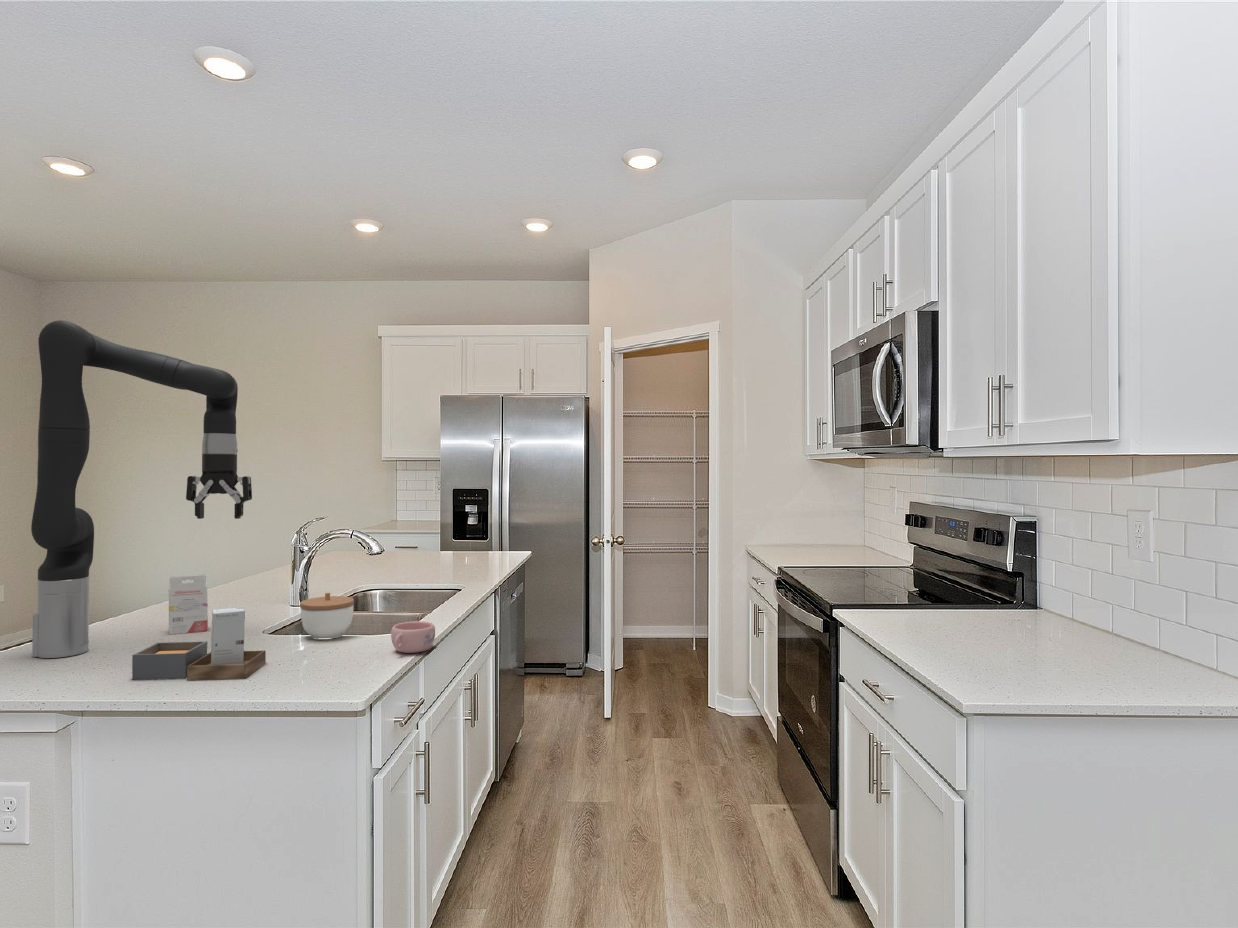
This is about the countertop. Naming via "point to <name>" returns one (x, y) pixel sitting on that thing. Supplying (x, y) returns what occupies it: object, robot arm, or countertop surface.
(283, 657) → the countertop surface
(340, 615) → the lidded bowl
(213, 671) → the wooden square tray
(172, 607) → the ink cartridge box
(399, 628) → the mug
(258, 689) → the countertop surface
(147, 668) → the tray
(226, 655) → the skincare box
